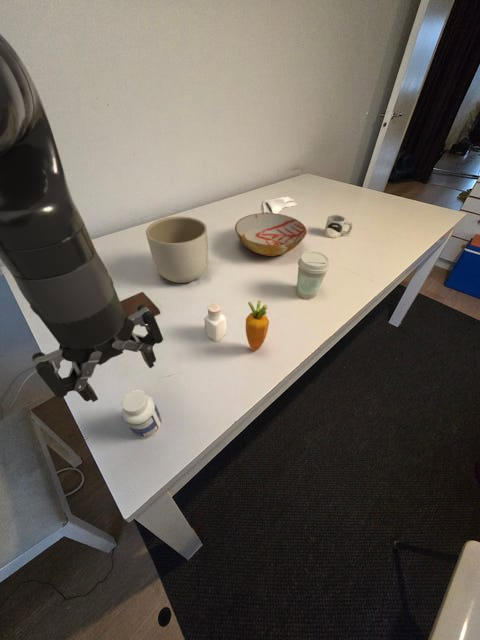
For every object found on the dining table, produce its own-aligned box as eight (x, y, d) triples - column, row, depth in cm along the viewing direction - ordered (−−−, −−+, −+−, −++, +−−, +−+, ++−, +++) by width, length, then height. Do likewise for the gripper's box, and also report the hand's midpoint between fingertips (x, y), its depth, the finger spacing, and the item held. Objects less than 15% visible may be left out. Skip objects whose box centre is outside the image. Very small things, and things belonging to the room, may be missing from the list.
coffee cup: (287, 295, 78) (293, 260, 70) (299, 281, 83) (306, 247, 75) (313, 306, 75) (324, 271, 66) (324, 291, 80) (335, 256, 71)
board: (93, 346, 63) (91, 342, 62) (79, 323, 68) (77, 319, 67) (160, 313, 72) (159, 309, 70) (143, 295, 77) (142, 291, 76)
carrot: (240, 348, 63) (241, 302, 53) (255, 339, 65) (260, 292, 55) (253, 362, 61) (257, 315, 50) (269, 352, 63) (276, 305, 52)
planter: (155, 292, 78) (142, 245, 67) (158, 261, 90) (148, 217, 79) (211, 287, 80) (208, 242, 69) (208, 257, 92) (205, 215, 81)
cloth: (281, 195, 136) (281, 190, 134) (302, 202, 129) (303, 198, 127) (246, 209, 122) (246, 204, 121) (268, 218, 116) (269, 213, 114)
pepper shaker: (216, 326, 68) (214, 298, 62) (227, 334, 67) (226, 306, 60) (205, 335, 66) (201, 307, 59) (216, 343, 64) (214, 315, 58)
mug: (323, 237, 104) (327, 220, 99) (323, 229, 109) (328, 213, 104) (349, 240, 103) (355, 224, 98) (348, 232, 107) (354, 216, 103)
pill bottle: (139, 409, 52) (125, 383, 45) (165, 413, 51) (155, 387, 45) (128, 437, 48) (110, 413, 41) (156, 441, 48) (142, 418, 41)
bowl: (253, 273, 85) (254, 252, 80) (224, 239, 102) (224, 219, 96) (316, 258, 93) (321, 237, 87) (280, 228, 109) (282, 208, 103)
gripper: (125, 256, 32) (154, 340, 44) (-13, 306, 26) (63, 390, 37) (154, 285, 29) (177, 369, 40) (0, 352, 22) (81, 430, 33)
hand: (122, 379), depth 39 cm, fingers open, 8 cm apart
